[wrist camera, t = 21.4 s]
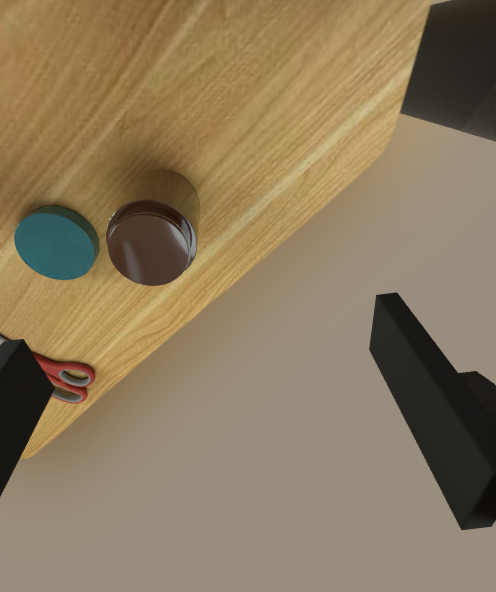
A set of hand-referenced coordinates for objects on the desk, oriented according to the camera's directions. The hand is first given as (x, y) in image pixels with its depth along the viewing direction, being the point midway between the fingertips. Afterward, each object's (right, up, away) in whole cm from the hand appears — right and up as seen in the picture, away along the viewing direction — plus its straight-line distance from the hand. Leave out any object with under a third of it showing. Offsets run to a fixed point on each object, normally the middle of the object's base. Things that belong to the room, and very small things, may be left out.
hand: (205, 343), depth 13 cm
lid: (-19, +7, +23) cm, 31 cm away
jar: (-7, +11, +24) cm, 27 cm away
